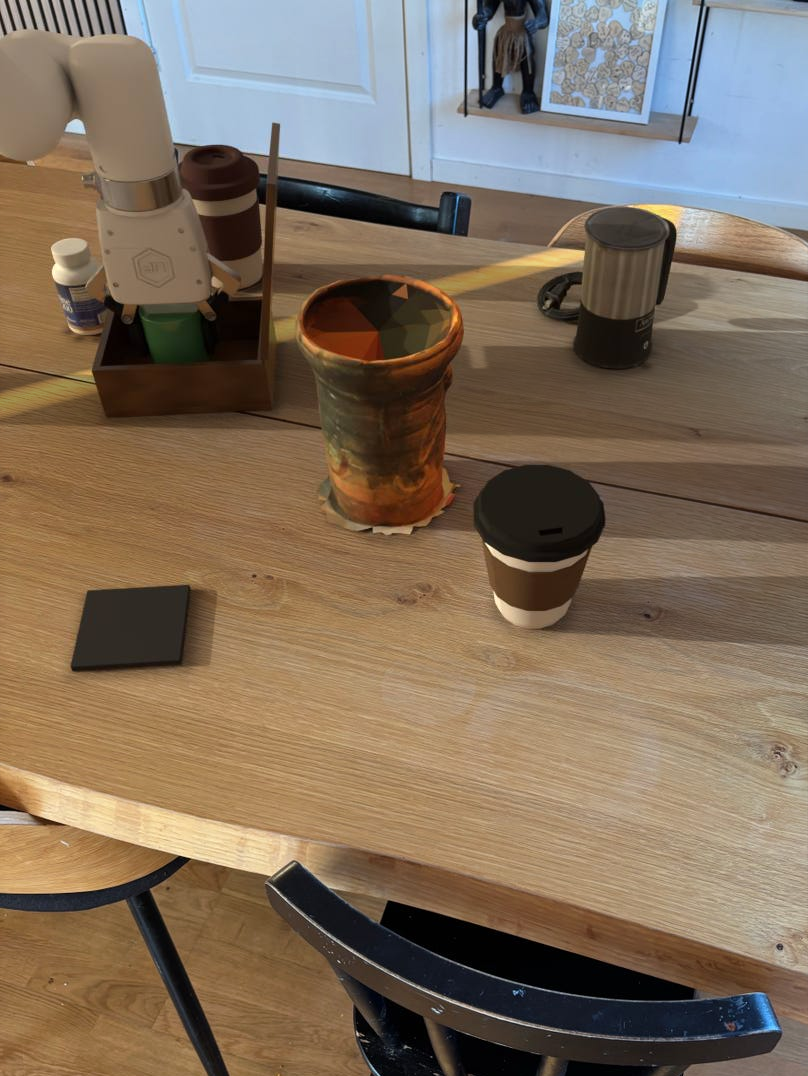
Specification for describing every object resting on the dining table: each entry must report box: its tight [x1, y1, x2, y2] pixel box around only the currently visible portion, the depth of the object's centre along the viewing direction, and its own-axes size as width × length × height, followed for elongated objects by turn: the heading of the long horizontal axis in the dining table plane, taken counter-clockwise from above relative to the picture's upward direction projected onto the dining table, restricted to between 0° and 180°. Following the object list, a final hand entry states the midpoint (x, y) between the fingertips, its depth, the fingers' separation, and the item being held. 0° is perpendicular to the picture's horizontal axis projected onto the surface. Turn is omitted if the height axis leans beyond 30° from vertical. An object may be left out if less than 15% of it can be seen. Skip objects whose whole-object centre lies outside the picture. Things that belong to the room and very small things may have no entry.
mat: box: [70, 584, 191, 672], centre depth 88 cm, size 9×9×1 cm
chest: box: [91, 295, 278, 418], centre depth 111 cm, size 18×14×6 cm
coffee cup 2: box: [472, 464, 607, 630], centre depth 87 cm, size 11×11×12 cm
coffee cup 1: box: [177, 144, 264, 290], centre depth 123 cm, size 10×10×15 cm
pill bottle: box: [50, 237, 108, 336], centre depth 117 cm, size 5×5×10 cm
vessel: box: [294, 274, 465, 536], centre depth 93 cm, size 14×14×20 cm
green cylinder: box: [138, 303, 212, 364], centre depth 110 cm, size 6×6×8 cm
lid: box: [260, 122, 281, 360], centre depth 103 cm, size 18×14×1 cm
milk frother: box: [536, 206, 678, 370], centre depth 116 cm, size 14×16×15 cm
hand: (179, 347), depth 111 cm, fingers closed on green cylinder, 6 cm apart
